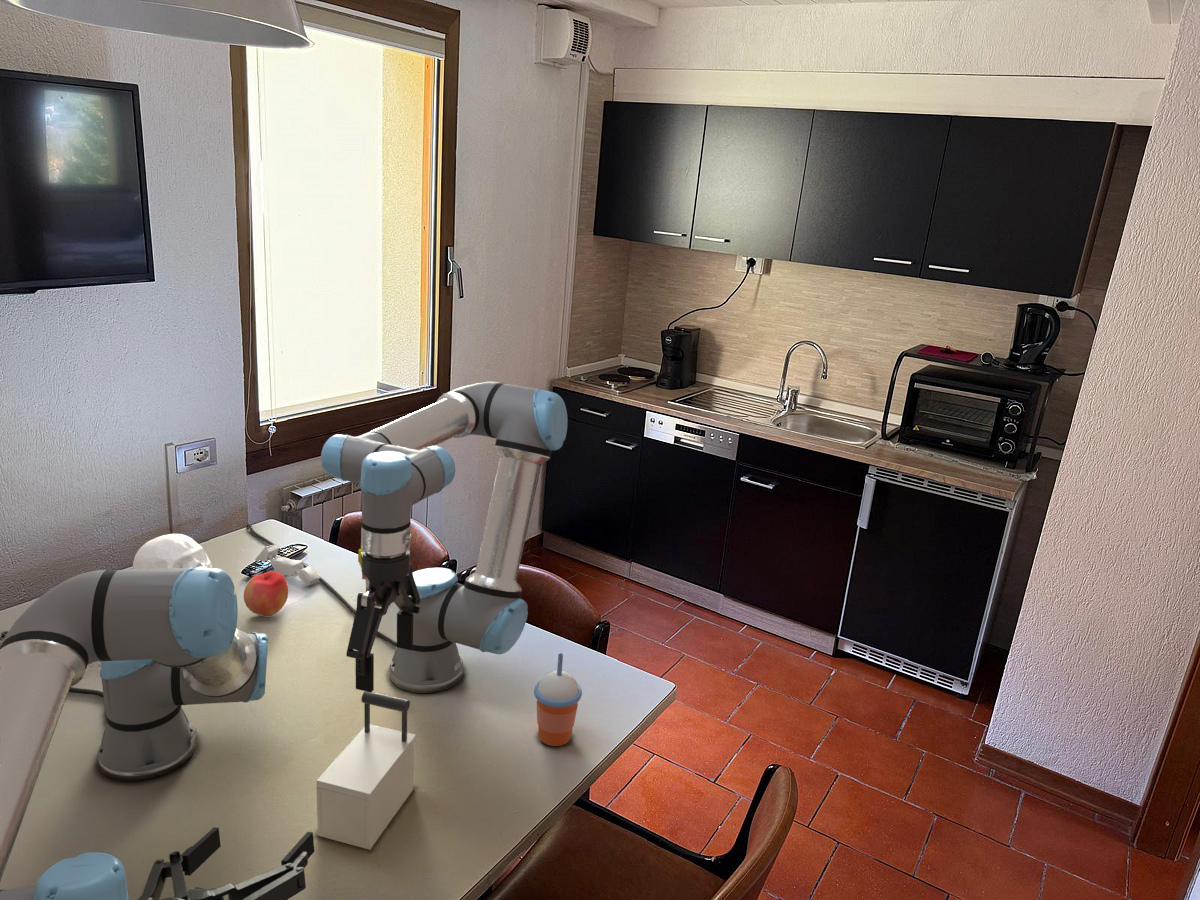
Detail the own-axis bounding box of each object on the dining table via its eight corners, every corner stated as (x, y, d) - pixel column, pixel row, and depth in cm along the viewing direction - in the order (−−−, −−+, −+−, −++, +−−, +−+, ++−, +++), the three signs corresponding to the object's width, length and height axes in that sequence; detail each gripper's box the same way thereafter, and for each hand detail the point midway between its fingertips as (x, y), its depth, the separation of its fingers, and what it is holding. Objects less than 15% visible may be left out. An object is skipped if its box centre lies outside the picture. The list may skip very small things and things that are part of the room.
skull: (198, 620, 196) (196, 556, 191) (121, 600, 201) (117, 538, 197) (238, 597, 208) (236, 536, 204) (164, 579, 214) (161, 520, 209)
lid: (367, 729, 148) (367, 683, 146) (416, 741, 146) (417, 694, 144) (316, 787, 133) (315, 737, 131) (369, 801, 131) (369, 750, 129)
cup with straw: (572, 755, 160) (578, 671, 155) (525, 746, 161) (530, 662, 156) (582, 727, 168) (589, 646, 163) (538, 718, 170) (543, 638, 165)
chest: (365, 776, 150) (365, 732, 147) (413, 789, 148) (414, 743, 145) (317, 835, 136) (316, 787, 134) (370, 850, 134) (369, 801, 131)
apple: (273, 600, 207) (272, 562, 204) (297, 613, 202) (296, 575, 199) (237, 614, 200) (234, 575, 197) (261, 628, 194) (259, 588, 191)
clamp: (253, 565, 223) (254, 542, 221) (265, 560, 226) (266, 537, 224) (309, 593, 215) (310, 569, 213) (320, 588, 218) (321, 564, 216)
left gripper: (59, 973, 95) (182, 860, 116) (264, 990, 91) (353, 870, 112) (51, 910, 94) (176, 808, 115) (257, 924, 90) (348, 816, 111)
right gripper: (367, 587, 122) (368, 714, 129) (441, 525, 145) (438, 636, 152) (320, 577, 124) (323, 704, 130) (401, 518, 147) (400, 628, 153)
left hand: (263, 838), depth 114 cm, fingers open, 13 cm apart
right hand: (385, 667), depth 141 cm, fingers open, 13 cm apart
